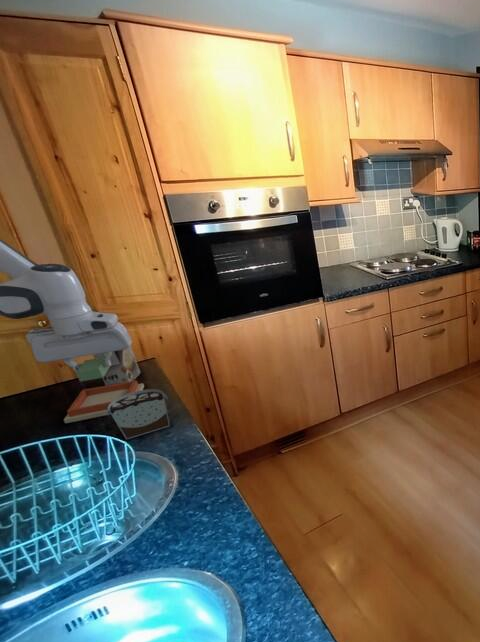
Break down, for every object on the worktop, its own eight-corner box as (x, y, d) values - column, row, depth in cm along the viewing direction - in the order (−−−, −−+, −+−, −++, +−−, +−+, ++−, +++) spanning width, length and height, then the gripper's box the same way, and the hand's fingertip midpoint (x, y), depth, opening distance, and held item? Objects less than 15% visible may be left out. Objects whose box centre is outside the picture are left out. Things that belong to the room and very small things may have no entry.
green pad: (80, 381, 124) (75, 372, 123) (88, 369, 130) (84, 360, 129) (103, 377, 126) (98, 368, 125) (110, 365, 132) (106, 356, 131)
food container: (174, 414, 127) (163, 383, 123) (176, 424, 123) (165, 392, 119) (118, 430, 120) (104, 398, 116) (118, 441, 115) (104, 408, 111)
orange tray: (65, 423, 123) (60, 414, 122) (82, 397, 135) (79, 389, 134) (133, 409, 129) (129, 400, 128) (144, 386, 141) (141, 378, 140)
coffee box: (131, 385, 142) (113, 339, 135) (106, 389, 140) (86, 342, 133) (141, 372, 150) (124, 327, 143) (117, 375, 148) (100, 330, 141)
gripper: (17, 334, 115) (41, 381, 121) (118, 320, 124) (135, 365, 129) (27, 326, 120) (49, 371, 126) (123, 313, 129) (139, 356, 134)
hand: (93, 368), depth 128 cm, fingers closed on green pad, 5 cm apart
